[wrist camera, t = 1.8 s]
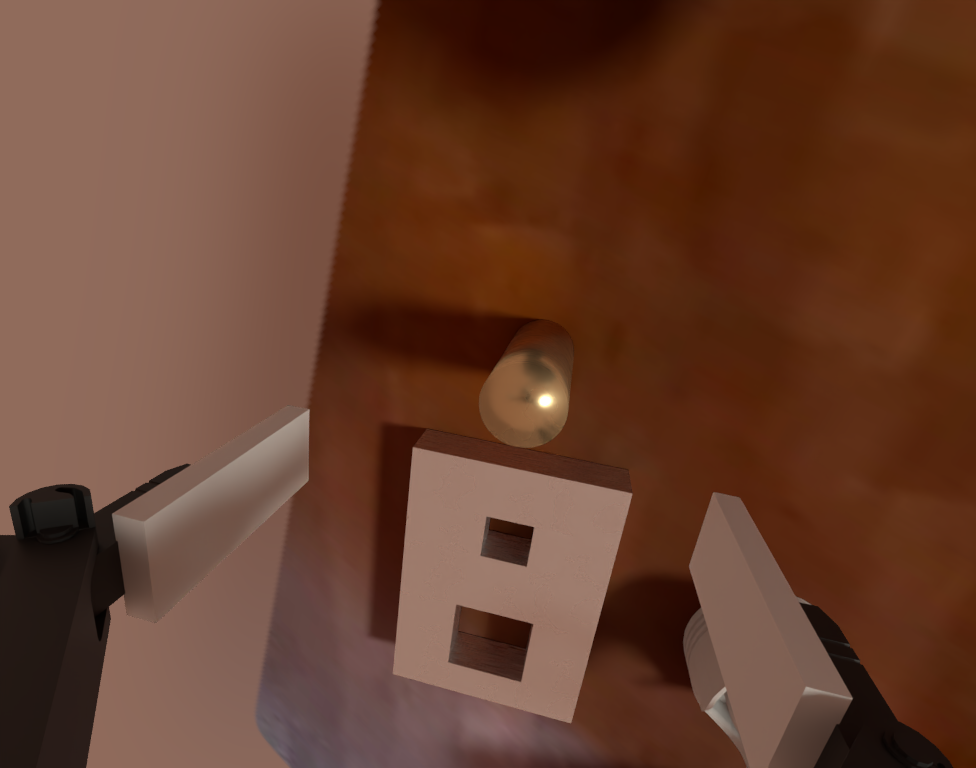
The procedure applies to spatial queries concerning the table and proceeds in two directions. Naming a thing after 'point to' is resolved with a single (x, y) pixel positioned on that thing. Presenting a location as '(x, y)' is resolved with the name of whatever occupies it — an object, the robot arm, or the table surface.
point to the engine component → (710, 677)
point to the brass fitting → (530, 386)
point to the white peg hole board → (506, 568)
